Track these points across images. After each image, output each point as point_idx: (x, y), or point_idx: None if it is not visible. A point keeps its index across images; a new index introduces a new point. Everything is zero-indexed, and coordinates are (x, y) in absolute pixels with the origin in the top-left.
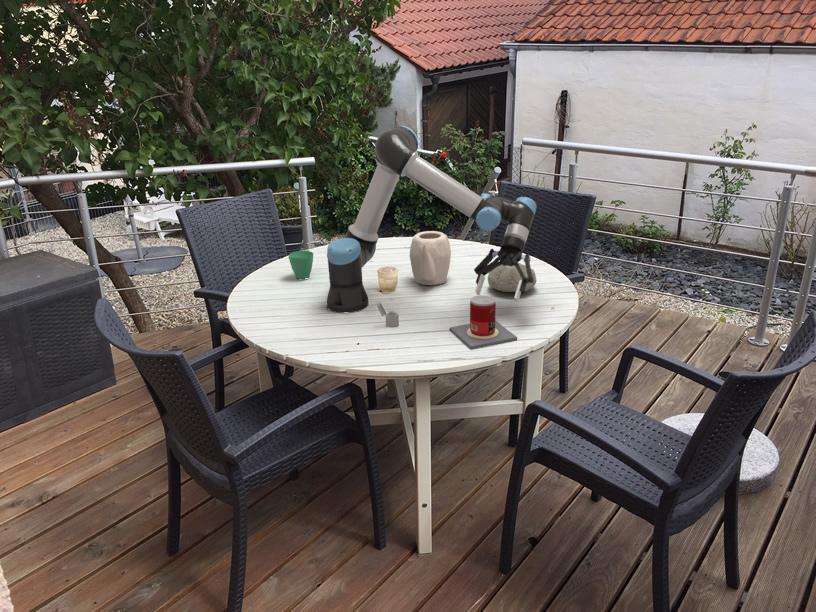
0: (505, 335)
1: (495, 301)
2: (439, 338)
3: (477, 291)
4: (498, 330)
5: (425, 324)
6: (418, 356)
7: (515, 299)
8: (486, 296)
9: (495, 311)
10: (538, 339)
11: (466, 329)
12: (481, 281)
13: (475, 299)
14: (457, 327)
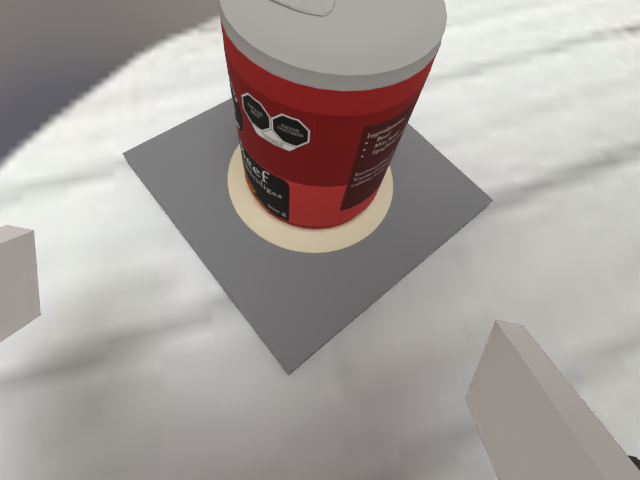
0: (187, 161)
1: (220, 12)
2: (485, 126)
3: (496, 325)
4: (231, 210)
5: (629, 251)
6: (481, 5)
7: (29, 265)
8: (323, 61)
9: (231, 89)
10: (8, 188)
11: (401, 193)
12: (571, 478)
13: (405, 21)
14: (454, 206)
